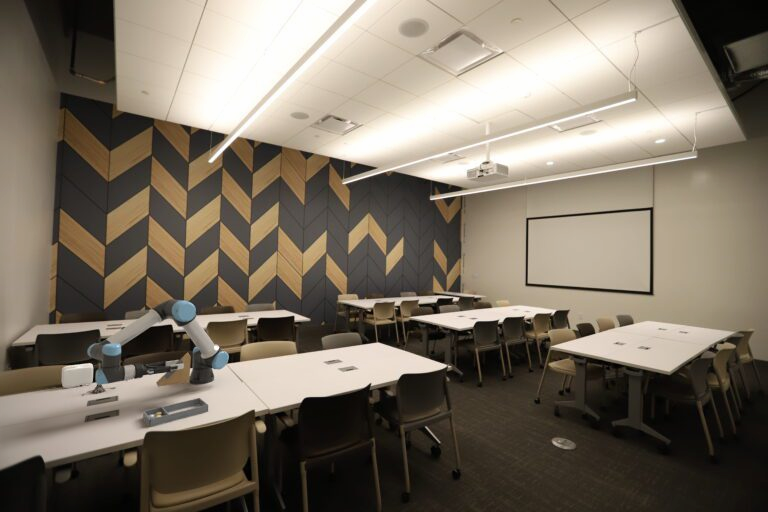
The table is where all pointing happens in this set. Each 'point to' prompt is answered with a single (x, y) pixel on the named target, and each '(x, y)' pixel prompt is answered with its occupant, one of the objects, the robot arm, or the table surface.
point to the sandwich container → (177, 373)
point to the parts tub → (162, 416)
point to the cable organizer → (77, 375)
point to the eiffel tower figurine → (98, 389)
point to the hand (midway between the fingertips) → (181, 364)
